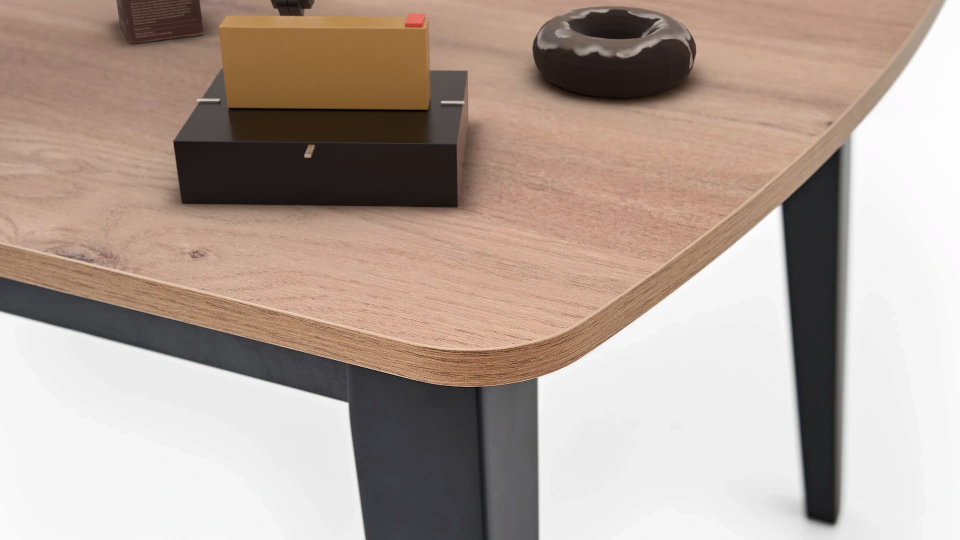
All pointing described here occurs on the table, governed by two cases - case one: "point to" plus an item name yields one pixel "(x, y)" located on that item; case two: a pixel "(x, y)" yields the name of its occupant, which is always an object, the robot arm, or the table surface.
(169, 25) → the box
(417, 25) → the tan slab
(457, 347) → the table surface
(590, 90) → the donut
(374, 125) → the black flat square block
